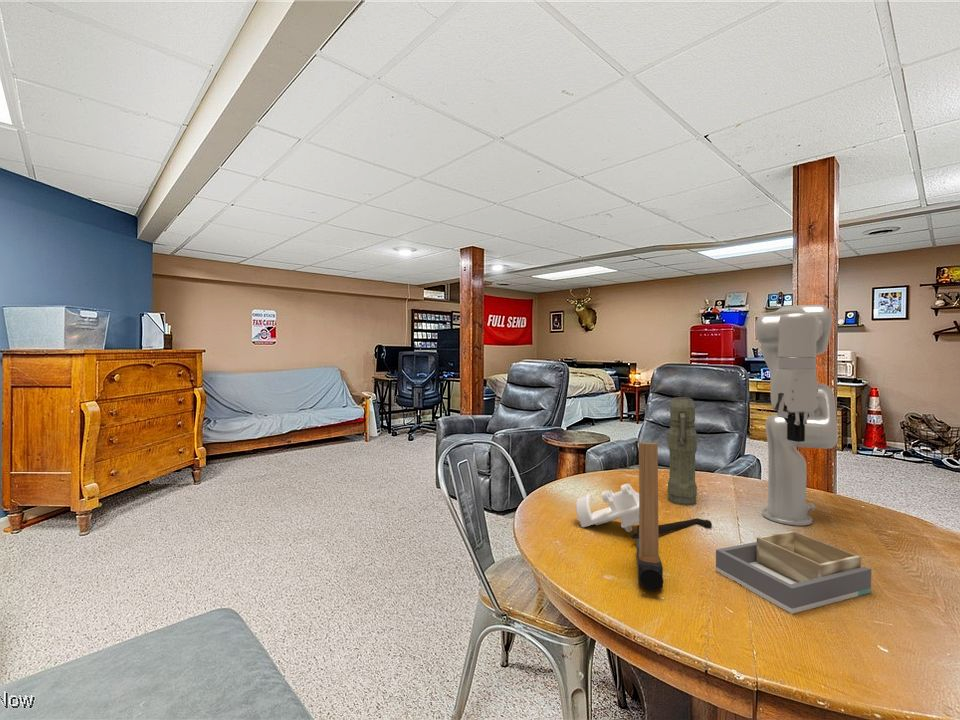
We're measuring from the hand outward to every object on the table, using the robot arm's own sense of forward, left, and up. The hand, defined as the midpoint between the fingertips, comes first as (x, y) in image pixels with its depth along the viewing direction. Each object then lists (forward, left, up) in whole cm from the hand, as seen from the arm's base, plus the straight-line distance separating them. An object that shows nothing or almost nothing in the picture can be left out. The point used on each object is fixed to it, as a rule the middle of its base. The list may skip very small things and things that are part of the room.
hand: (795, 440), depth 109 cm
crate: (+6, +7, -28) cm, 29 cm away
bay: (+11, +7, -29) cm, 32 cm away
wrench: (+18, -21, -30) cm, 40 cm away
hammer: (+38, -6, -29) cm, 48 cm away
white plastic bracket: (+30, -31, -29) cm, 52 cm away
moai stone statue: (-6, -43, -29) cm, 52 cm away
